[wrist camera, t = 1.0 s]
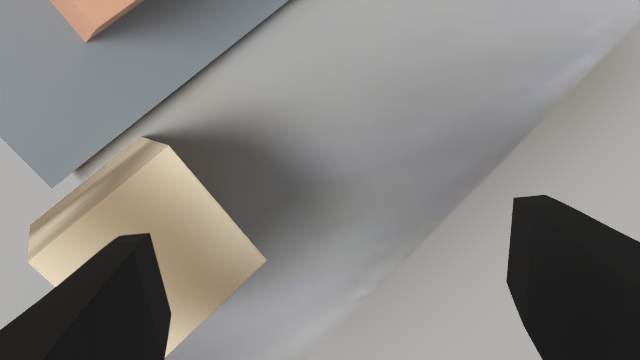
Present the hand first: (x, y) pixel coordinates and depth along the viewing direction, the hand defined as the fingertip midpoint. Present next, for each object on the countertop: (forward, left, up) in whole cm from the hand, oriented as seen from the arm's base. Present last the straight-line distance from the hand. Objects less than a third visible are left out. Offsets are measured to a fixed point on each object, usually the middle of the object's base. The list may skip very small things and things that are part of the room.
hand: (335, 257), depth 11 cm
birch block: (-3, 0, -12) cm, 12 cm away
